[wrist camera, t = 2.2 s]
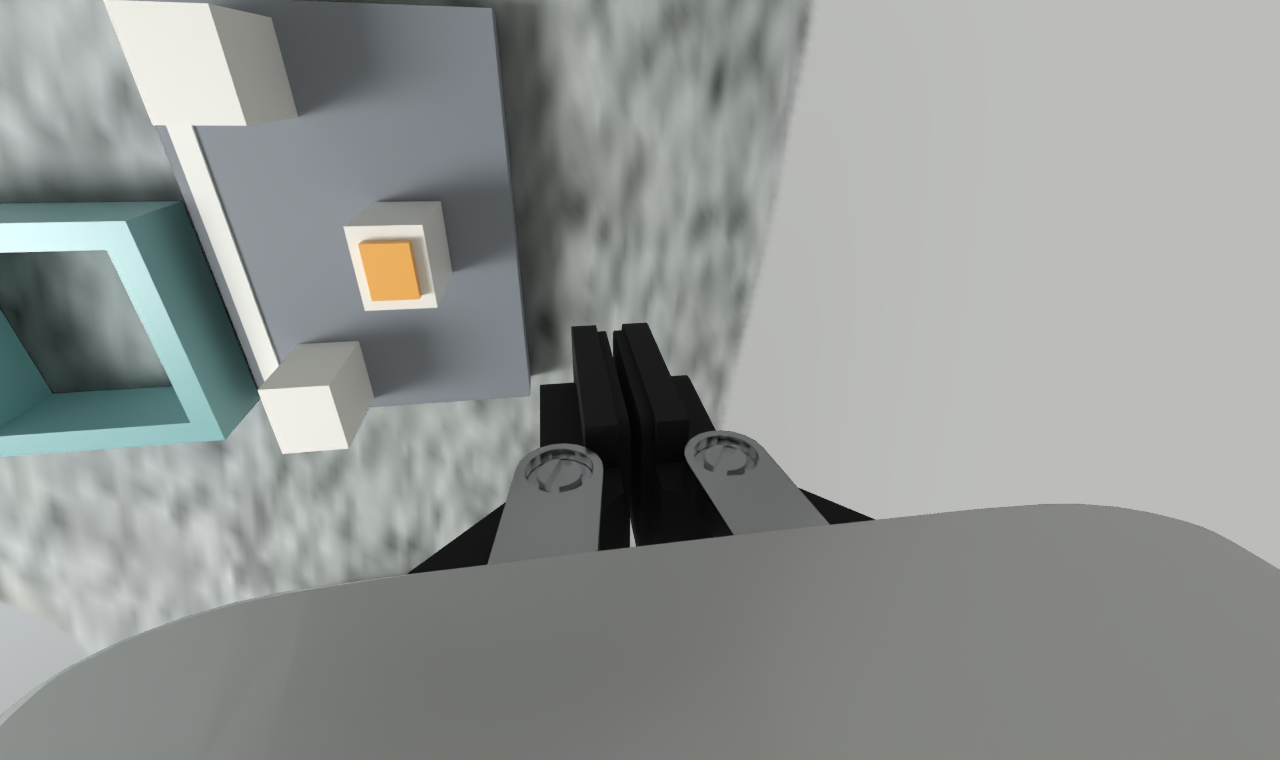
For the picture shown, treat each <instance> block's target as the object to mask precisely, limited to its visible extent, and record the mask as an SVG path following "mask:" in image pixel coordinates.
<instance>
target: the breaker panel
mask: <svg viewBox="0 0 1280 760" xmlns="http://www.w3.org/2000/svg"><path fill="white" fill-rule="evenodd" d="M103 1H104V4H105V6H106V9H107V11H108V14H109V16H110V19H111V21H112V24H113V26H114V29H115V31H116V34H117V36H118V39H119V42H120V44H121V47H122V49H123V52H124V54H125V57H126V59H127V62H128V64H129V67H130V69H131V72H132V74H133V77H134V79H135V82H136V85H137V87H138V90H139V92H140V95H141V97H142V100H143V102H144V105H145V107H146V110H147V112H148V115H149V117H150V120H151V122H152V125H155V127H156V129H157V132H158V134H159V137H160V139H161V142H162V144H163V147H164V150H165V152H166V155H167V157H168V160H169V162H170V165H171V167H172V170H173V172H174V175H175V177H176V180H177V183H178V185H179V188H180V190H181V193H182V195H183V198H184V200H185V203H186V205H187V208H188V211H189V213H190V216H191V218H192V221H193V223H194V226H195V228H196V231H197V233H198V236H199V238H200V241H201V244H202V246H203V249H204V251H205V254H206V256H207V259H208V261H209V264H210V266H211V269H212V271H213V274H214V277H215V279H216V282H217V284H218V287H219V289H220V292H221V294H222V297H223V299H224V302H225V305H226V307H227V310H228V312H229V315H230V317H231V320H232V322H233V325H234V327H235V330H236V332H237V335H238V338H239V340H240V343H241V345H242V348H243V350H244V353H245V355H246V358H247V360H248V363H249V365H250V368H251V371H252V373H253V376H254V378H255V381H256V383H257V386H258V388H259V389H258V393H259V395H260V398H261V400H262V403H263V406H264V408H265V411H266V413H267V416H268V418H269V421H270V423H271V426H272V428H273V431H274V433H275V436H276V438H277V441H278V443H279V446H280V449H281V451H282V454H286V453H298V452H311V451H323V450H335V449H348V448H349V447H350V445H351V443H352V441H353V439H354V437H355V435H356V433H357V431H358V429H359V427H360V425H361V423H362V421H363V419H364V417H365V415H366V413H367V411H368V409H369V407H381V406H395V405H409V404H423V403H438V402H452V401H466V400H480V399H494V398H508V397H523V396H530V383H531V375H530V365H529V355H528V344H527V334H526V324H525V313H524V303H523V293H522V283H521V272H520V262H519V252H518V241H517V231H516V221H515V211H514V200H513V190H512V180H511V169H510V159H509V149H508V139H507V128H506V118H505V108H504V97H503V87H502V77H501V67H500V56H499V46H498V36H497V25H496V15H495V12H494V11H493V9H492V8H478V7H453V6H427V5H401V4H375V3H350V2H324V1H298V0H103ZM408 201H441V206H442V212H443V218H444V224H445V230H446V236H447V243H448V249H449V255H450V261H451V267H452V275H451V278H450V280H449V282H448V285H447V287H446V289H445V292H444V294H443V296H442V298H441V301H440V303H439V305H438V308H420V309H397V310H375V311H365V309H364V305H363V302H362V298H361V294H360V290H359V286H358V282H357V278H356V274H355V270H354V266H353V263H352V259H351V255H350V251H349V247H348V243H347V239H346V235H345V231H344V228H343V226H345V225H346V224H347V223H348V222H350V221H351V220H352V219H354V218H355V217H356V216H357V215H359V214H360V213H361V212H363V211H364V210H365V209H366V208H368V207H369V206H370V205H372V204H373V203H374V202H408Z"/></svg>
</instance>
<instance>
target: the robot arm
mask: <svg viewBox="0 0 1280 760" xmlns="http://www.w3.org/2000/svg"><path fill="white" fill-rule="evenodd" d="M571 333H572V353H573V373H574V383H561V384H546V385H540V448H538V449H536V450H534V451H532V452H530V453H528V454H527V455H526V456H525V457H524V458H523V459H522V460H521V461H520V462H519V464H518V466H517V468H516V470H515V473H514V476H513V480H512V483H511V487H510V490H509V493H508V497H507V500H506V502H505V503H504V504H502V505H501V506H500V507H498V508H497V509H496V510H494V511H493V512H491V513H490V514H489V515H487V516H486V517H485V518H483V519H482V520H480V521H479V522H478V523H476V524H475V525H474V526H472V527H471V528H470V529H468V530H467V531H465V532H464V533H463V534H461V535H460V536H459V537H457V538H456V539H454V540H453V541H452V542H450V543H449V544H448V545H446V546H445V547H443V548H442V549H441V550H439V551H438V552H437V553H435V554H434V555H432V556H431V557H430V558H428V559H427V560H426V561H424V562H423V563H421V564H420V565H419V566H417V567H416V568H415V569H413V570H412V571H410V572H409V573H408V574H406V575H399V576H391V577H382V578H375V579H368V580H362V581H355V582H348V583H341V584H335V585H328V586H321V587H314V588H308V589H301V590H294V591H287V592H282V593H277V594H273V595H268V596H263V597H259V598H254V599H249V600H244V601H240V602H235V603H232V604H228V605H225V606H221V607H218V608H214V609H211V610H207V611H204V612H201V613H197V614H194V615H190V616H187V617H183V618H180V619H178V620H175V621H172V622H170V623H167V624H165V625H162V626H159V627H157V628H154V629H151V630H149V631H146V632H144V633H141V634H138V635H136V636H133V637H130V638H128V639H125V640H123V641H121V642H119V643H116V644H114V645H112V646H110V647H108V648H105V649H103V650H101V651H99V652H97V653H95V654H93V655H91V656H89V657H87V658H85V659H83V660H81V661H79V662H77V663H76V664H73V665H71V666H70V667H68V668H66V669H64V670H62V671H61V672H59V673H58V674H56V675H54V676H53V677H51V678H50V679H48V680H47V681H45V682H43V683H42V684H40V685H39V686H37V687H35V688H34V689H33V690H31V691H30V692H29V693H27V694H26V695H25V696H24V697H22V698H21V699H20V700H18V701H17V702H16V703H15V704H13V705H12V706H11V707H9V708H8V709H7V710H6V711H4V712H3V713H2V714H1V715H0V760H1280V569H1278V568H1276V567H1275V566H1273V565H1271V564H1270V563H1268V562H1266V561H1264V560H1263V559H1261V558H1259V557H1258V556H1256V555H1254V554H1253V553H1251V552H1249V551H1247V550H1246V549H1244V548H1242V547H1240V546H1239V545H1237V544H1236V543H1234V542H1232V541H1230V540H1228V539H1226V538H1225V537H1223V536H1221V535H1219V534H1217V533H1215V532H1213V531H1210V530H1208V529H1206V528H1204V527H1201V526H1198V525H1195V524H1192V523H1188V522H1185V521H1182V520H1178V519H1174V518H1170V517H1166V516H1162V515H1158V514H1154V513H1149V512H1143V511H1138V510H1132V509H1126V508H1120V507H1111V506H1098V505H1086V504H1039V505H1025V506H1013V507H999V508H985V509H974V510H964V511H956V512H945V513H937V514H927V515H918V516H909V517H899V518H890V519H880V520H875V519H873V518H870V517H868V516H865V515H863V514H860V513H858V512H856V511H853V510H851V509H848V508H846V507H844V506H841V505H839V504H836V503H834V502H832V501H829V500H827V499H824V498H822V497H820V496H817V495H815V494H812V493H810V492H807V491H805V490H803V489H800V488H798V487H797V486H796V485H795V484H794V483H793V481H792V480H791V479H790V478H789V477H788V476H787V474H786V473H785V472H784V471H783V470H782V469H781V468H780V466H779V465H778V464H777V463H776V462H775V461H774V460H773V458H772V457H771V456H770V455H769V454H768V453H767V452H766V450H765V449H764V448H763V447H762V446H761V445H760V444H758V443H757V442H756V441H755V440H753V439H751V438H749V437H747V436H745V435H743V434H739V433H736V432H731V431H721V430H720V431H716V430H715V428H714V426H713V424H712V422H711V420H710V418H709V416H708V414H707V412H706V410H705V408H704V406H703V404H702V402H701V400H700V398H699V396H698V394H697V392H696V390H695V388H694V386H693V384H692V382H691V380H690V378H689V377H688V376H687V375H682V376H671V375H670V373H669V371H668V369H667V366H666V364H665V362H664V360H663V357H662V355H661V353H660V351H659V348H658V346H657V344H656V342H655V339H654V337H653V335H652V333H651V330H650V328H649V326H648V324H647V323H632V324H622V330H620V331H614V332H613V356H612V353H611V349H610V345H609V341H608V337H607V334H606V331H601V332H597V328H596V325H593V326H573V327H571ZM630 519H631V524H632V529H633V534H634V538H635V543H636V547H630Z"/></svg>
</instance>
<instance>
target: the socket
mask: <svg viewBox="0 0 1280 760" xmlns="http://www.w3.org/2000/svg"><path fill="white" fill-rule="evenodd" d="M84 250H107V252H108V254H109V256H110V258H111V260H112V262H113V264H114V266H115V268H116V270H117V272H118V274H119V277H120V279H121V281H122V283H123V285H124V287H125V289H126V291H127V293H128V295H129V297H130V299H131V301H132V303H133V305H134V307H135V309H136V312H137V314H138V316H139V318H140V320H141V322H142V324H143V326H144V328H145V330H146V332H147V334H148V336H149V338H150V340H151V342H152V344H153V347H154V349H155V351H156V353H157V355H158V357H159V359H160V361H161V363H162V365H163V367H164V369H165V371H166V373H167V375H168V377H169V379H170V382H171V384H172V386H167V387H151V388H135V389H118V390H102V391H86V392H70V393H52V392H51V390H50V389H49V387H48V385H47V384H46V382H45V380H44V379H43V377H42V376H41V374H40V372H39V371H38V369H37V368H36V366H35V364H34V363H33V361H32V360H31V358H30V356H29V355H28V353H27V351H26V350H25V348H24V347H23V345H22V343H21V342H20V340H19V339H18V337H17V335H16V334H15V332H14V330H13V329H12V327H11V326H10V324H9V322H8V321H7V319H6V318H5V316H4V314H3V313H2V311H1V310H0V457H7V456H20V455H33V454H46V453H59V452H73V451H86V450H99V449H112V448H125V447H138V446H151V445H164V444H177V443H190V442H204V441H217V440H225V439H226V438H227V437H228V436H229V435H230V433H231V432H232V431H233V430H234V429H235V428H236V426H237V425H238V424H239V423H240V422H241V421H242V419H243V418H244V417H245V416H246V415H247V414H248V412H249V411H250V410H251V409H252V408H253V407H254V405H255V404H256V403H257V402H258V401H259V400H260V396H259V394H258V391H257V389H256V386H255V384H254V381H253V379H252V376H251V374H250V371H249V369H248V366H247V363H246V361H245V358H244V356H243V353H242V351H241V348H240V346H239V343H238V341H237V338H236V336H235V333H234V331H233V328H232V326H231V323H230V321H229V318H228V316H227V313H226V310H225V308H224V305H223V303H222V300H221V298H220V295H219V293H218V290H217V288H216V285H215V283H214V280H213V278H212V275H211V273H210V270H209V268H208V265H207V262H206V260H205V257H204V255H203V252H202V250H201V247H200V245H199V242H198V240H197V237H196V235H195V232H194V230H193V227H192V225H191V222H190V220H189V217H188V215H187V212H186V209H185V207H184V204H183V202H182V201H147V202H76V203H4V204H0V253H7V252H45V251H84Z"/></svg>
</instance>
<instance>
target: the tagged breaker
mask: <svg viewBox="0 0 1280 760" xmlns="http://www.w3.org/2000/svg"><path fill="white" fill-rule="evenodd" d="M343 228H344V231H345V235H346V239H347V243H348V247H349V251H350V255H351V259H352V263H353V266H354V270H355V274H356V278H357V282H358V286H359V290H360V294H361V298H362V302H363V305H364V309H365V311H375V310H397V309H420V308H438V305H439V303H440V301H441V298H442V296H443V294H444V292H445V289H446V287H447V285H448V282H449V280H450V278H451V275H452V267H451V261H450V255H449V249H448V243H447V236H446V230H445V224H444V218H443V212H442V206H441V201H408V202H374V203H373V204H372V205H370V206H369V207H368V208H366V209H365V210H364V211H363V212H361V213H360V214H359V215H357V216H356V217H355V218H354V219H352V220H351V221H350V222H348V223H347V224H346V225H345V226H343Z"/></svg>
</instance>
